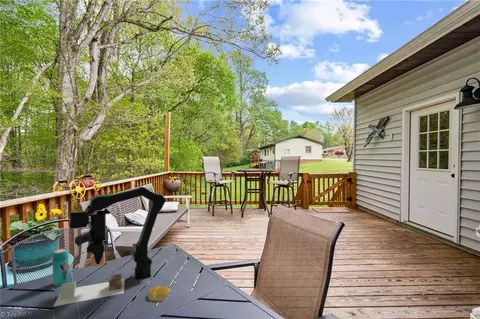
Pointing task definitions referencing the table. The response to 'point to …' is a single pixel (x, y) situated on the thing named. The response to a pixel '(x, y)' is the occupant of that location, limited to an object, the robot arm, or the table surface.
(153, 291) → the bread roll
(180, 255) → the table surface
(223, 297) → the table surface
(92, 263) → the terracotta block
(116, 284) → the walnut block
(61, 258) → the beverage can
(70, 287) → the sage block
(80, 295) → the white mat
